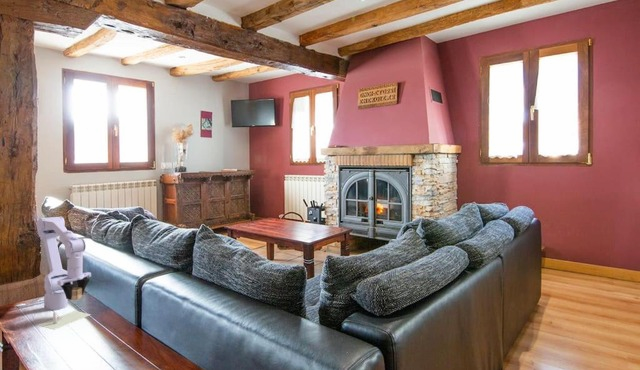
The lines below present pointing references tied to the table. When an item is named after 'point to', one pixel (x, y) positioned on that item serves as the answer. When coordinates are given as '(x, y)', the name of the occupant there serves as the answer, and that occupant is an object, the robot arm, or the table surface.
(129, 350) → the table surface
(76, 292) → the bead
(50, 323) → the board
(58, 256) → the robot arm
